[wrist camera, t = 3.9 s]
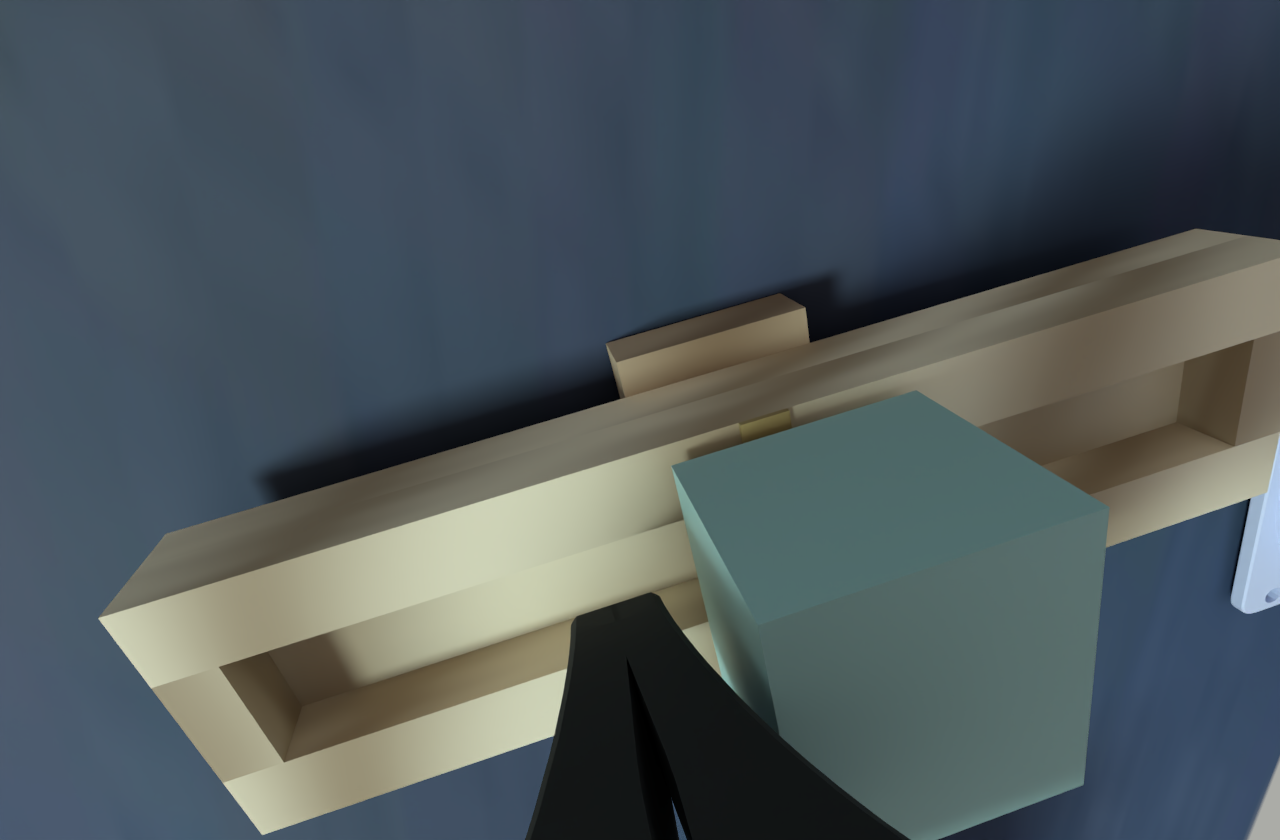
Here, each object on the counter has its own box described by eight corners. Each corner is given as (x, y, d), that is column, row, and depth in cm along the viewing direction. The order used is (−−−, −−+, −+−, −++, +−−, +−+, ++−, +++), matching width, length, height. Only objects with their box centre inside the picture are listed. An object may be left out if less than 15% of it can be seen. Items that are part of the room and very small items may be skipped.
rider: (875, 365, 11) (1109, 506, 7) (892, 575, 13) (1084, 785, 9) (653, 433, 11) (757, 625, 7) (704, 637, 13) (809, 887, 9)
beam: (1146, 187, 14) (1335, 203, 11) (1120, 449, 17) (1265, 523, 14) (174, 467, 12) (64, 583, 9) (323, 710, 15) (278, 864, 12)
